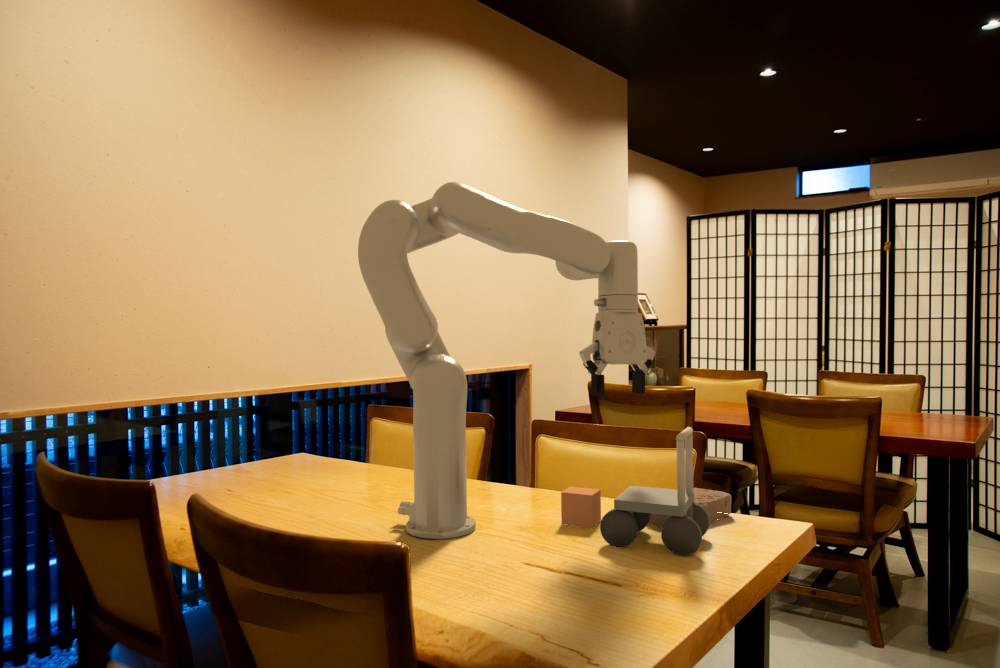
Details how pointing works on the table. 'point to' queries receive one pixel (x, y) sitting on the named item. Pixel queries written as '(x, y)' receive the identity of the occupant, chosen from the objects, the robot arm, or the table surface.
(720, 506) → the brick
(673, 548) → the trolley
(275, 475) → the table surface
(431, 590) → the table surface
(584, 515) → the block
